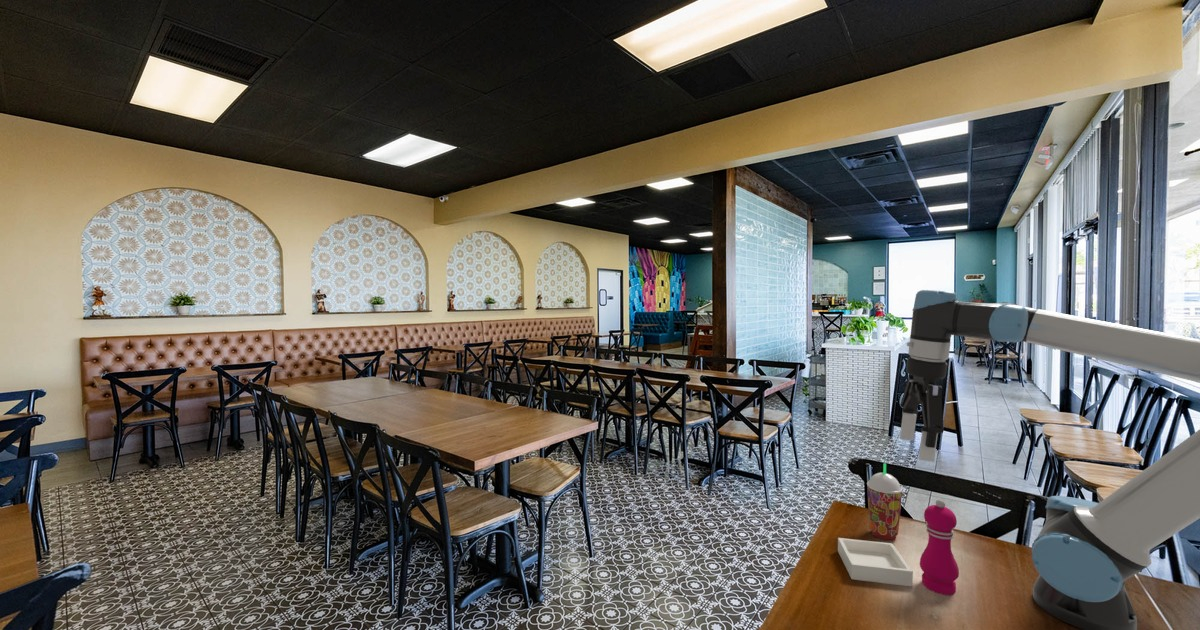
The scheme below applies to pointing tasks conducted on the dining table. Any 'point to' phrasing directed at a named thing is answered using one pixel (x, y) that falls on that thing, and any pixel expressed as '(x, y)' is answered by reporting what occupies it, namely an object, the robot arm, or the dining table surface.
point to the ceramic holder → (874, 562)
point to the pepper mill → (939, 550)
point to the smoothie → (884, 505)
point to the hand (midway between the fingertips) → (915, 449)
